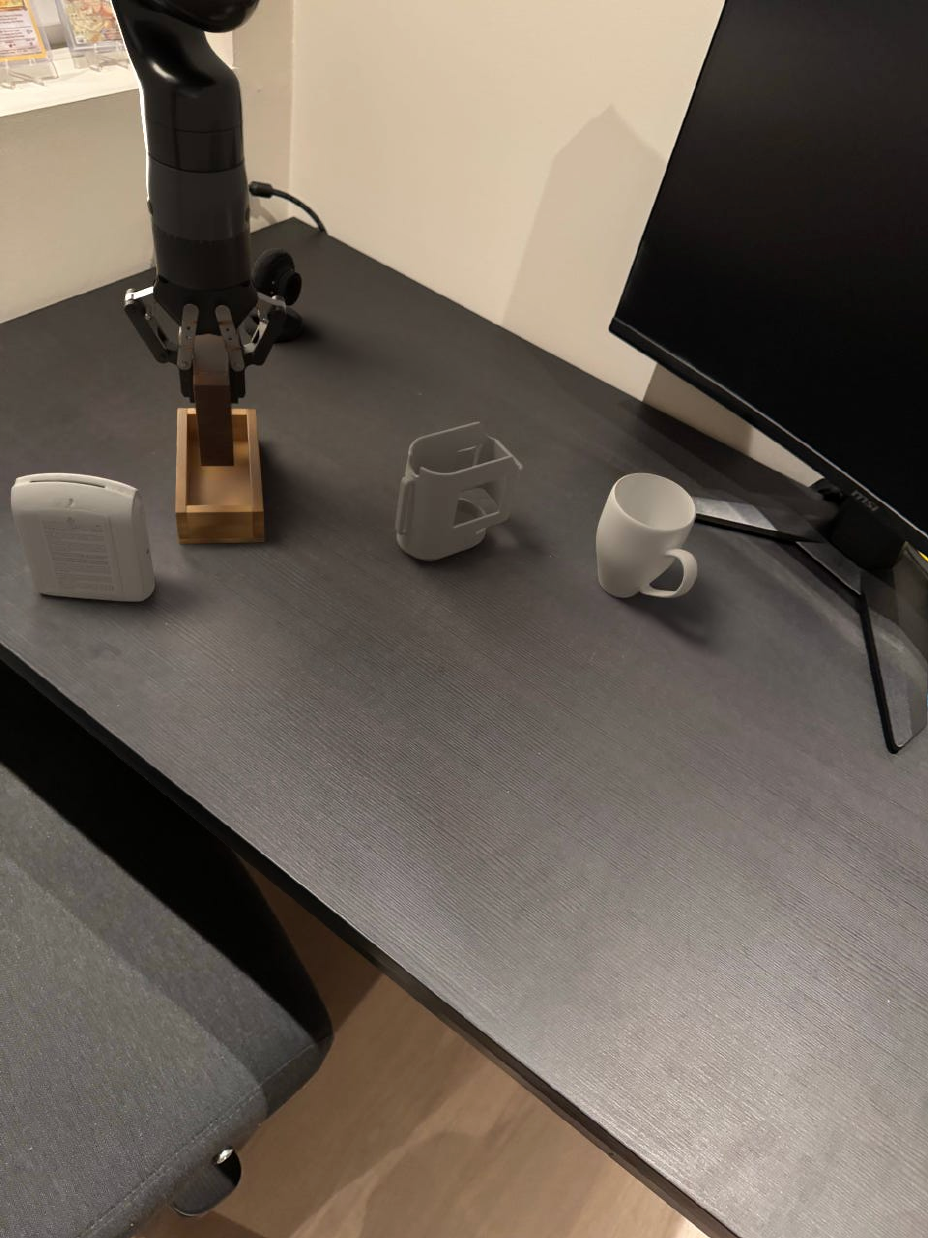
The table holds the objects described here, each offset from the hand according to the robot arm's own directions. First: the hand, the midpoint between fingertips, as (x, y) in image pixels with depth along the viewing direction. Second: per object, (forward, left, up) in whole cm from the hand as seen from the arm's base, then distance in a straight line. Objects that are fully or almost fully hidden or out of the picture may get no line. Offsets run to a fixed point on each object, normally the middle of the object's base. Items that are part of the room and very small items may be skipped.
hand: (213, 397), depth 79 cm
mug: (+40, -17, -11) cm, 45 cm away
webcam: (+7, +31, -11) cm, 34 cm away
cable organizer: (+23, -8, -11) cm, 27 cm away
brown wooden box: (0, 0, -4) cm, 4 cm away
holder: (0, 0, -11) cm, 11 cm away
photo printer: (-11, -13, -11) cm, 20 cm away
